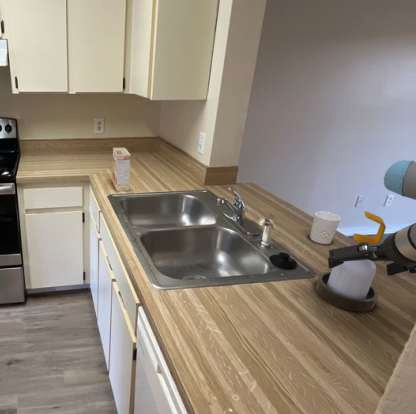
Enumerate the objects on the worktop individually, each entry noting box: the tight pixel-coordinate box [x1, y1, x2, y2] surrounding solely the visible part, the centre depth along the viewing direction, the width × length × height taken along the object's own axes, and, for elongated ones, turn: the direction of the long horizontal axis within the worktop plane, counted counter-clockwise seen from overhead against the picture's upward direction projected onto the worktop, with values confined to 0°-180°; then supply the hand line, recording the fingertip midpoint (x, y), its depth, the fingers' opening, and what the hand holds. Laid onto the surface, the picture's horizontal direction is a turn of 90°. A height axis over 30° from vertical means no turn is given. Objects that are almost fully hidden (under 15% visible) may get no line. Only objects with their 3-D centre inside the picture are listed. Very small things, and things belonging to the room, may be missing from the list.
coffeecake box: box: [112, 147, 131, 192], centre depth 175 cm, size 15×7×20 cm, turn 6°
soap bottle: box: [327, 211, 387, 300], centre depth 89 cm, size 9×9×25 cm
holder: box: [315, 271, 379, 313], centre depth 93 cm, size 14×14×4 cm
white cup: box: [309, 210, 342, 245], centre depth 122 cm, size 8×8×10 cm
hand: (358, 266), depth 88 cm, fingers open, 13 cm apart
